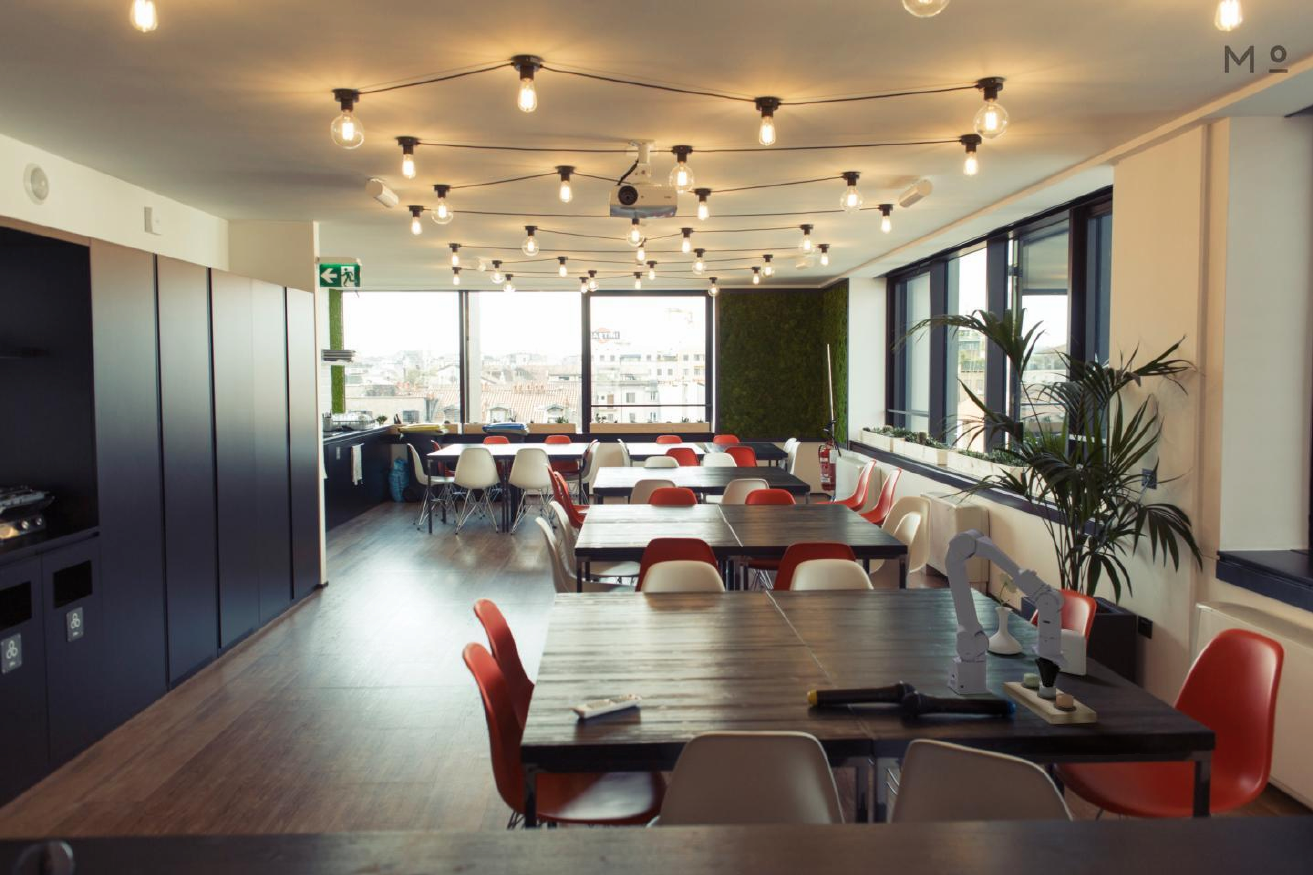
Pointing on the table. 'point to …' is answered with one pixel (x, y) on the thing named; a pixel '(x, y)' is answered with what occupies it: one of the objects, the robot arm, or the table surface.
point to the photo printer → (1074, 651)
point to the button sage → (1031, 679)
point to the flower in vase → (1004, 623)
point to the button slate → (1047, 691)
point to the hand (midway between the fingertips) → (1048, 686)
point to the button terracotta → (1065, 700)
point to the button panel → (1048, 705)
